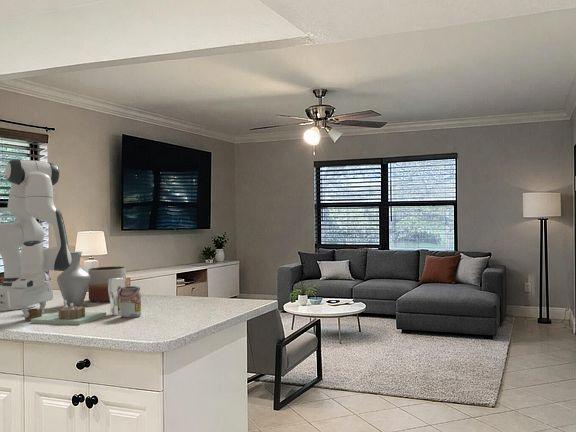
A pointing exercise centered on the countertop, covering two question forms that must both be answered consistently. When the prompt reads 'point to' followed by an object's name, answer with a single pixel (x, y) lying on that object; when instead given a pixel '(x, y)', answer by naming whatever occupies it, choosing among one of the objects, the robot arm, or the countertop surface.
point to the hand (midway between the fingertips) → (34, 315)
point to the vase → (74, 282)
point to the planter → (103, 281)
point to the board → (69, 316)
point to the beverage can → (130, 301)
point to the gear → (34, 314)
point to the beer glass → (115, 294)
